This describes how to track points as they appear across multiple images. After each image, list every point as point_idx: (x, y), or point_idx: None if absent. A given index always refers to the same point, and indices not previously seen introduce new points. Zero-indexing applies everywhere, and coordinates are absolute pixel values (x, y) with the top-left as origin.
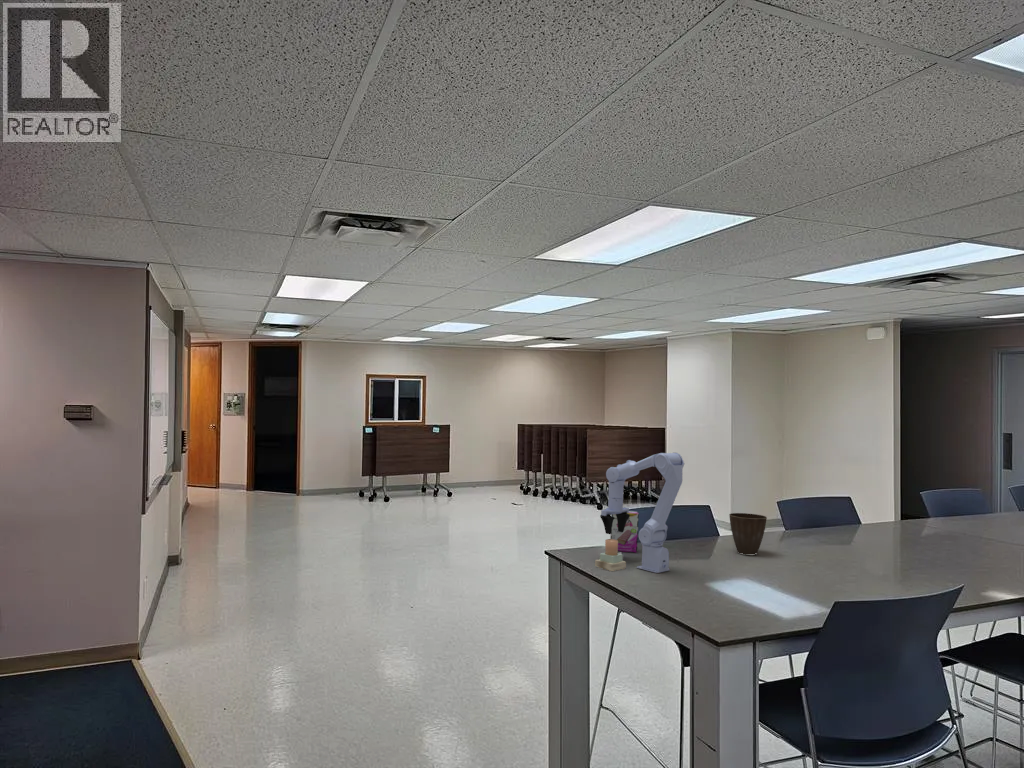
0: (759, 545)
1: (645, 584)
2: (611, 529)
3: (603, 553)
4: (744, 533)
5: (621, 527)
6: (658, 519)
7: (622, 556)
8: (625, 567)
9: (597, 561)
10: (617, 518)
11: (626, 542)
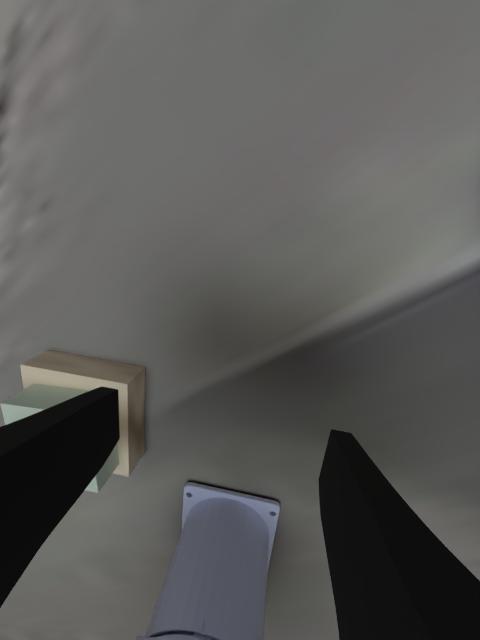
0: None
1: (39, 563)
2: (81, 490)
3: (22, 414)
4: None
5: (331, 521)
6: None
7: (103, 483)
8: (139, 456)
9: (25, 376)
10: (413, 628)
11: None
